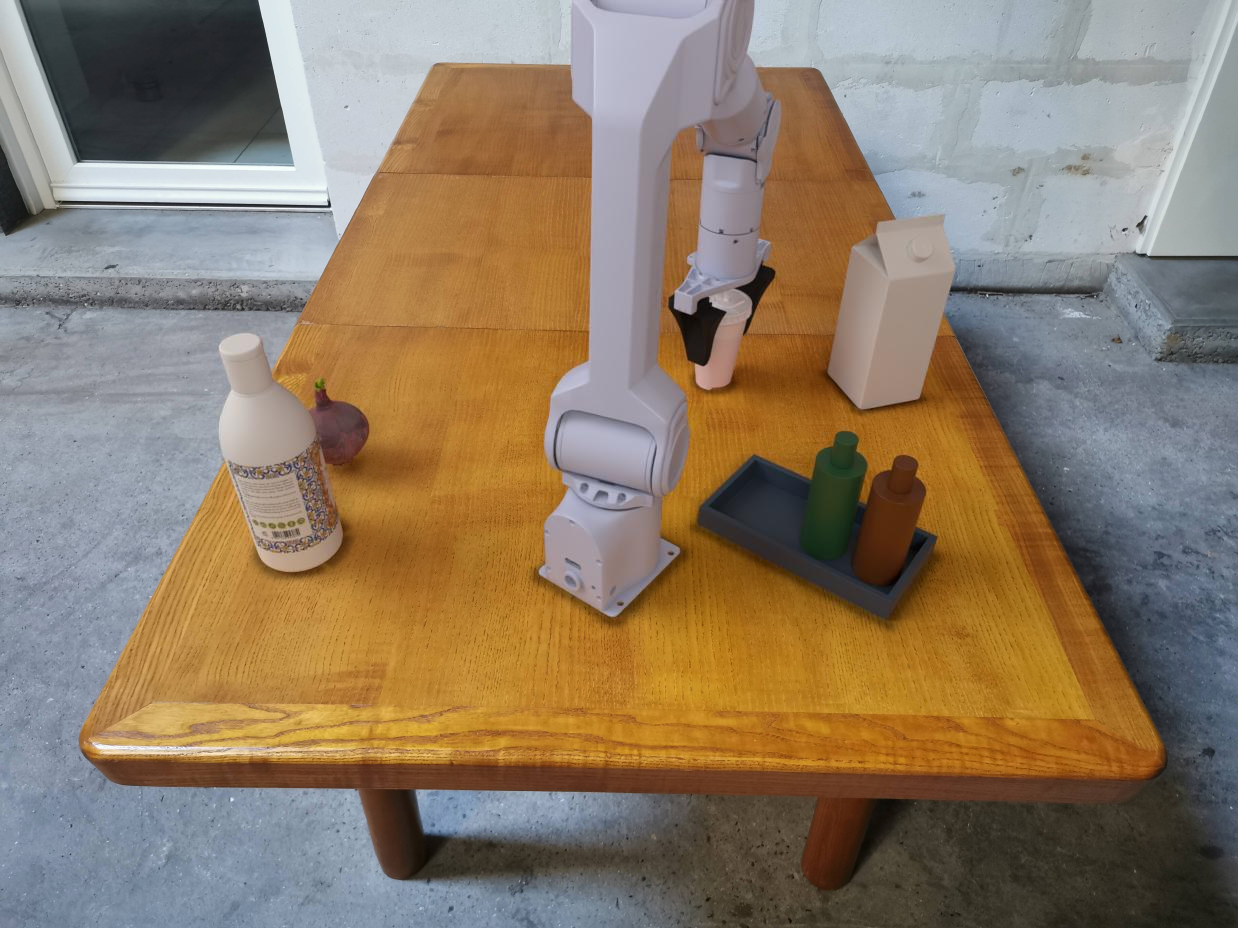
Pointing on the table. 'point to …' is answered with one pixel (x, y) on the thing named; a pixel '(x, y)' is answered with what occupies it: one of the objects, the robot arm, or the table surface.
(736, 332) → the smoothie
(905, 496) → the brown bottle
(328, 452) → the vegetable
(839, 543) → the green bottle
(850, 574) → the tray
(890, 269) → the milk carton
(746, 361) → the table surface
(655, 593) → the table surface
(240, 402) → the bath foam
